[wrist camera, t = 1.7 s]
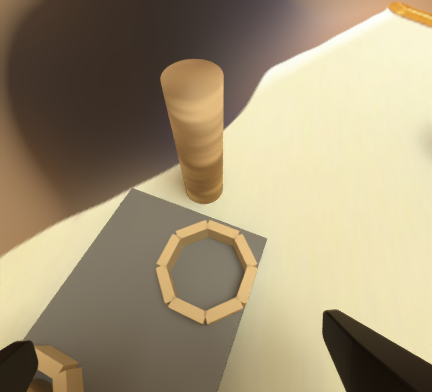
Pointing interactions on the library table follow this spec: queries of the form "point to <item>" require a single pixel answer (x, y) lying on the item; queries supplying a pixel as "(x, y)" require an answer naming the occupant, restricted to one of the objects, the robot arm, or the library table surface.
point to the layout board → (148, 304)
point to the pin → (197, 124)
